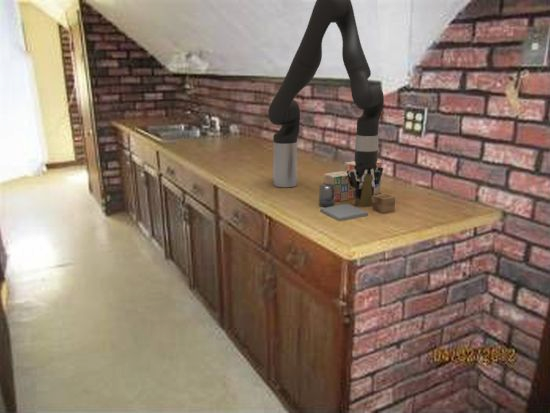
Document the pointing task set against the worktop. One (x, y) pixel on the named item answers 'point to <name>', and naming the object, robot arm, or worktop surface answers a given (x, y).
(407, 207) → the worktop surface
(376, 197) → the walnut block
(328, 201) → the metal tin
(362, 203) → the brown rounded figure
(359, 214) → the slate tile
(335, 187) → the stack of blocks
